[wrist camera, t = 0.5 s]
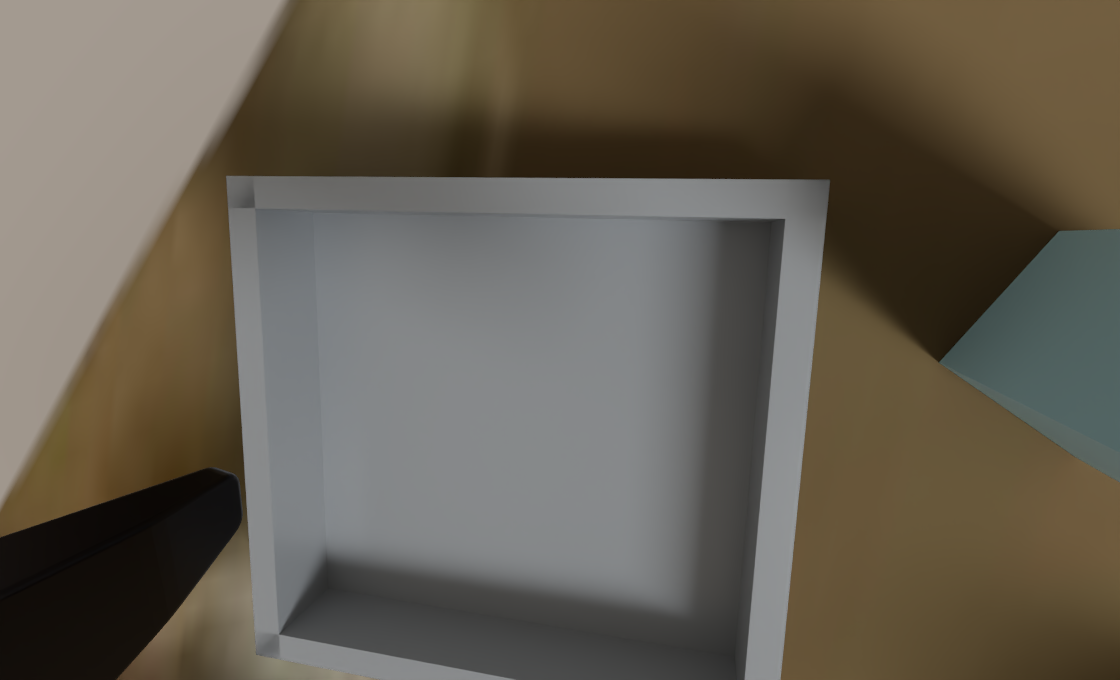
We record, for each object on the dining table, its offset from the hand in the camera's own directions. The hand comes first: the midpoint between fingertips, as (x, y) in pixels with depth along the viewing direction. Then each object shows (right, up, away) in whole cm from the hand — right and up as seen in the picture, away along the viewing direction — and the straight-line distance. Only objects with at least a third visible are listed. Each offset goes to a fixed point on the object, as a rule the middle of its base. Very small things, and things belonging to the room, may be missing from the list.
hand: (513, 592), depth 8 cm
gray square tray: (-1, 0, +14) cm, 14 cm away
